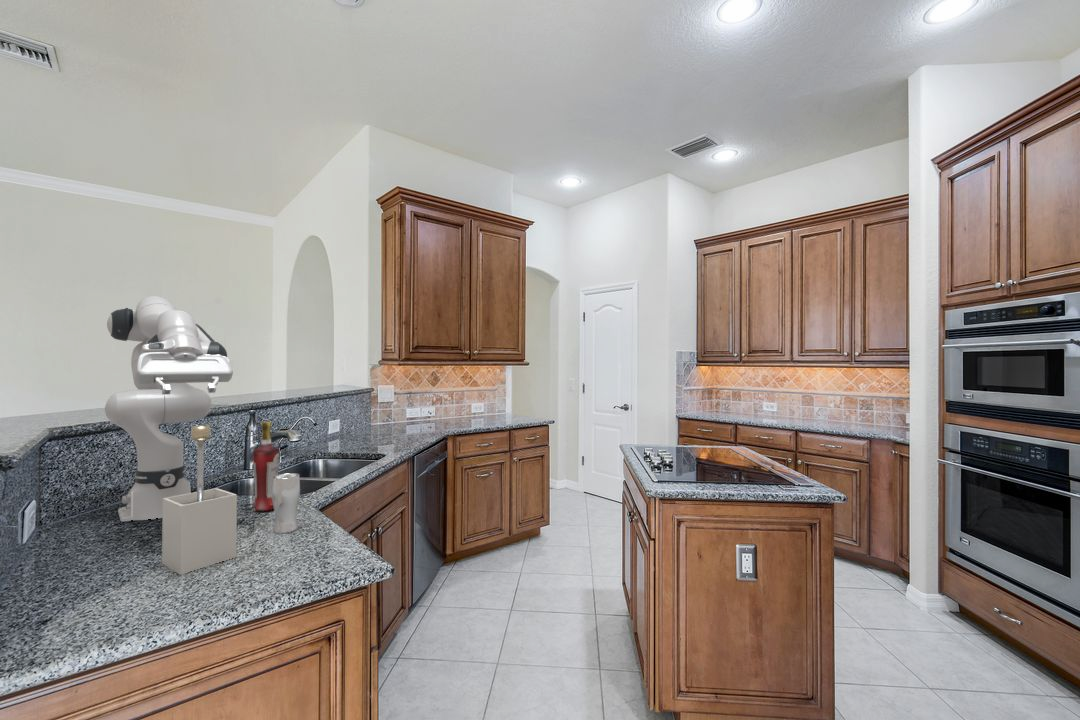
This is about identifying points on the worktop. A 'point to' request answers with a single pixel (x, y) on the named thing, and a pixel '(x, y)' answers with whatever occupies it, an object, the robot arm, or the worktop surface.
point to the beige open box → (199, 530)
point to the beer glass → (285, 501)
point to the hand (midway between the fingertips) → (190, 391)
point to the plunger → (200, 456)
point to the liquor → (265, 470)
